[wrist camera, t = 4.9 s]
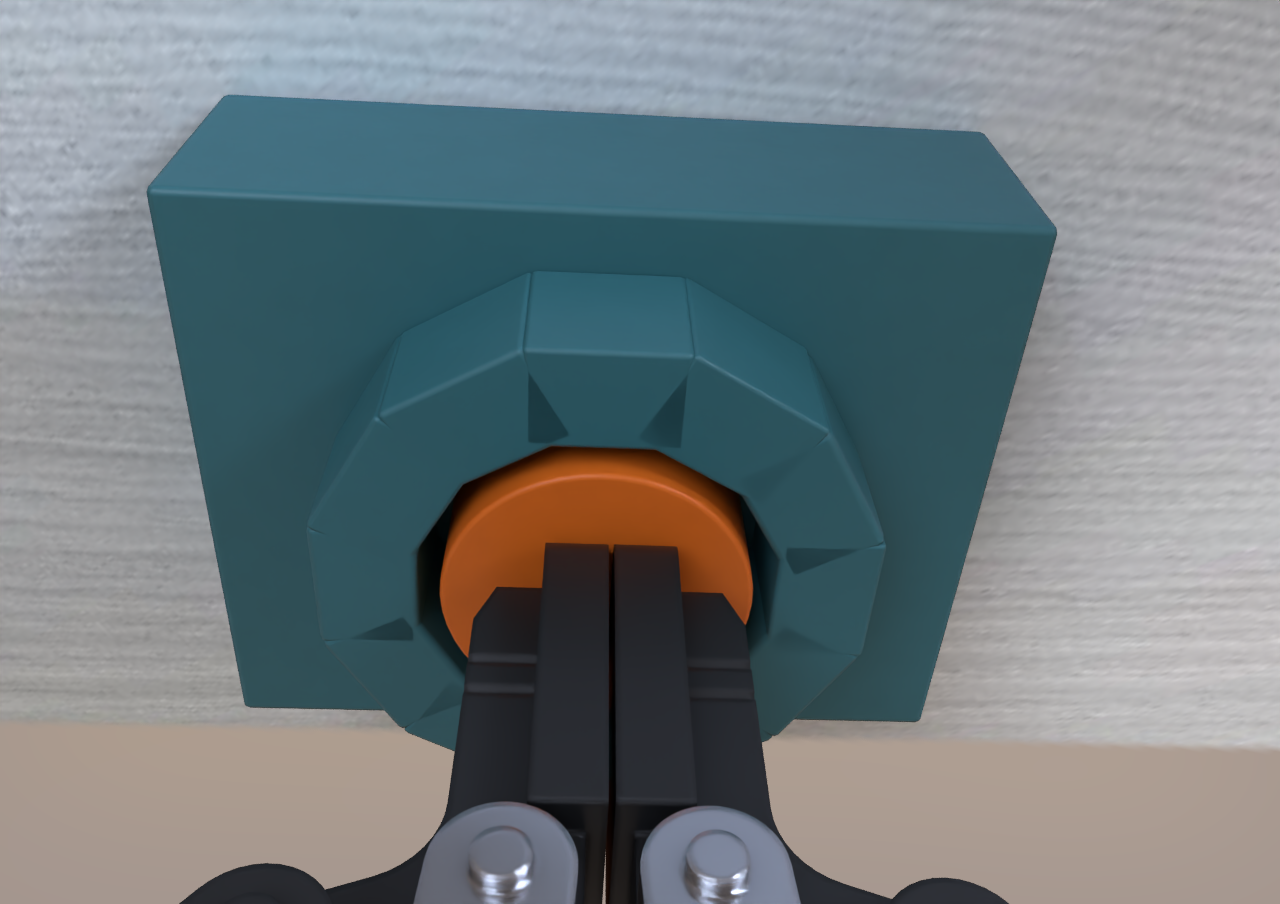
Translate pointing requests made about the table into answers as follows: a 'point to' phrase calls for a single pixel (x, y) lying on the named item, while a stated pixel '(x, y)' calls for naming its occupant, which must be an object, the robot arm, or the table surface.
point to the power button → (589, 525)
